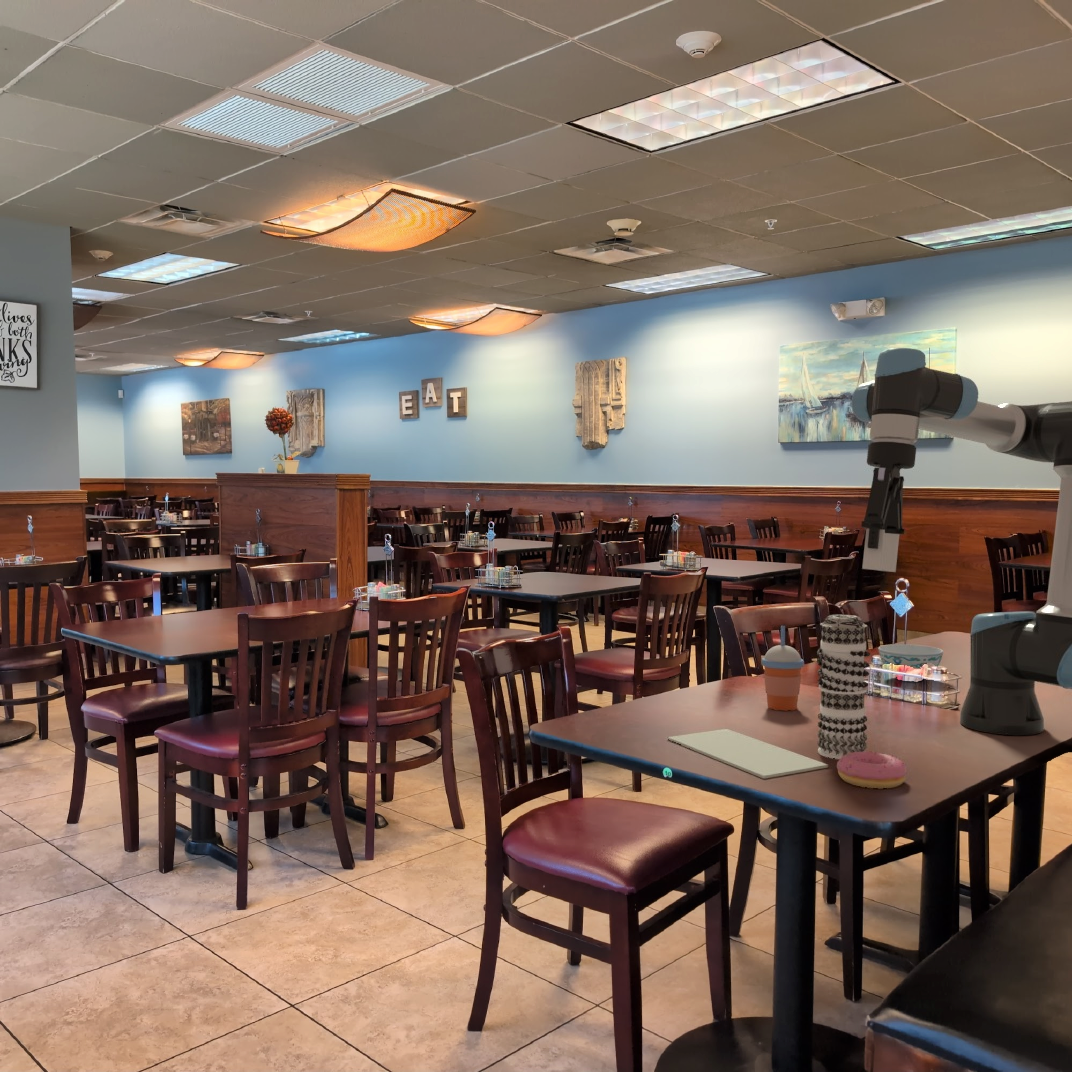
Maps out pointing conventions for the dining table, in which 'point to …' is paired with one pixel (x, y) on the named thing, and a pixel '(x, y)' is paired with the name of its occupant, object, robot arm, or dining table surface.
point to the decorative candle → (842, 686)
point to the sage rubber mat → (748, 753)
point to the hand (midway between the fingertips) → (879, 570)
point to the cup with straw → (782, 675)
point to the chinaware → (910, 655)
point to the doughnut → (871, 770)
